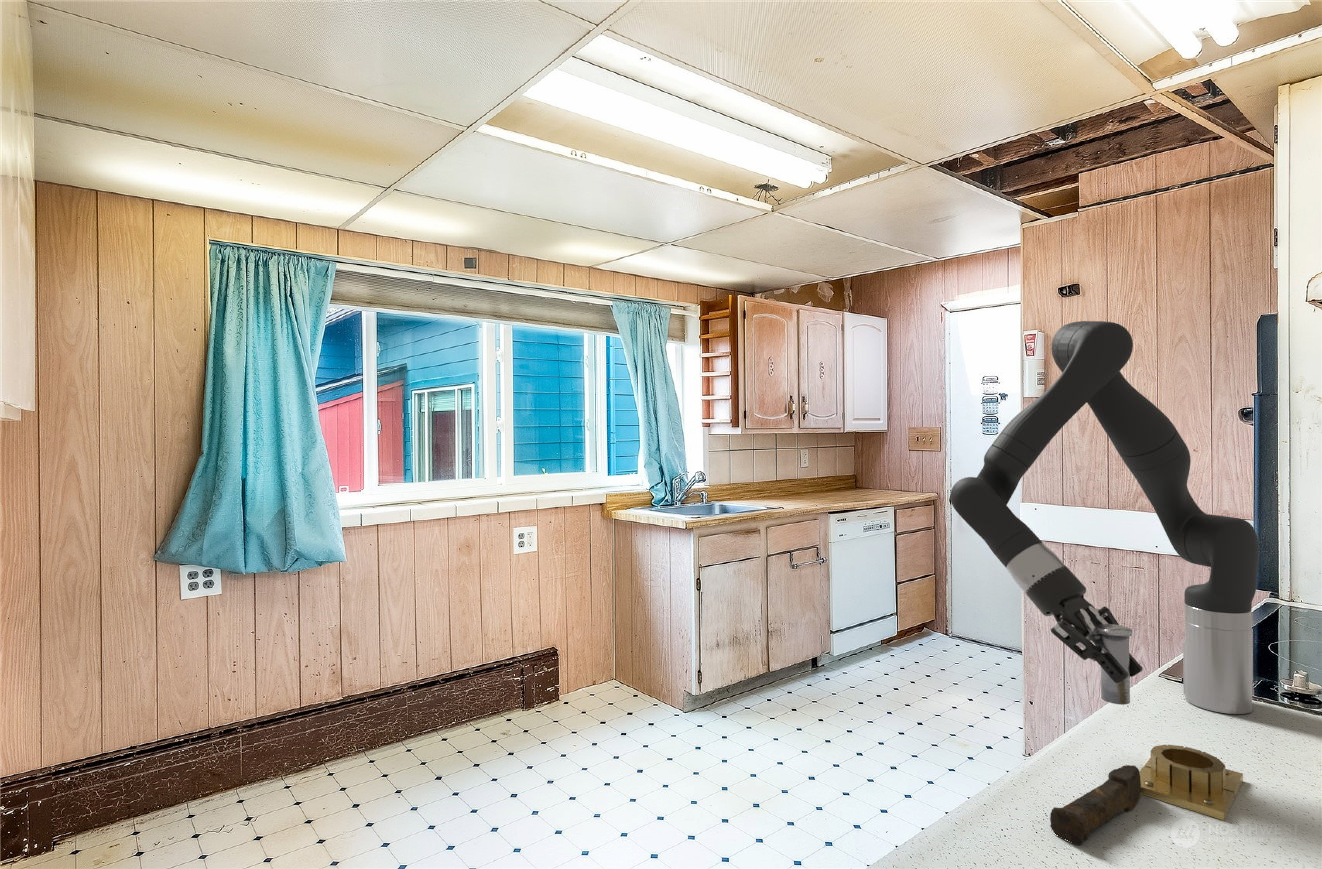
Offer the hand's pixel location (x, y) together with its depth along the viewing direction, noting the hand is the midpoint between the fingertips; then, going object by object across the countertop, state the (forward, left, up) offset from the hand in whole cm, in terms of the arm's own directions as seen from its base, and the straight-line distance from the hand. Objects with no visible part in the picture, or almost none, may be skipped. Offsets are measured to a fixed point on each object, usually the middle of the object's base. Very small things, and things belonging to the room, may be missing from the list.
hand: (1129, 676), depth 101 cm
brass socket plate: (+5, +5, -13) cm, 15 cm away
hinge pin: (-2, -1, -4) cm, 5 cm away
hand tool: (+14, -11, -14) cm, 22 cm away
